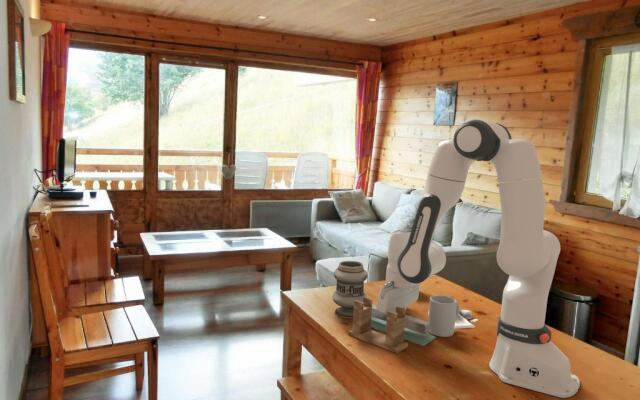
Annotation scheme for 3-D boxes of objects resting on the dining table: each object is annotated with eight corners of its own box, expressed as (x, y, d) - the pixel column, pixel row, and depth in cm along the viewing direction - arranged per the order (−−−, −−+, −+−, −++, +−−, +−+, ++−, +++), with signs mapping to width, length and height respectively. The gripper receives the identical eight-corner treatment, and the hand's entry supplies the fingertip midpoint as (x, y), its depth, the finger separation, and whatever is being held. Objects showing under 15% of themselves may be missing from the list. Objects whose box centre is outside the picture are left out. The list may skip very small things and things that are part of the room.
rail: (429, 331, 152) (430, 322, 152) (424, 334, 150) (425, 325, 149) (370, 312, 166) (371, 303, 166) (365, 314, 164) (366, 305, 163)
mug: (441, 339, 154) (444, 305, 152) (421, 329, 161) (424, 297, 159) (466, 332, 160) (469, 299, 159) (447, 323, 167) (449, 292, 166)
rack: (407, 347, 146) (410, 310, 145) (397, 353, 142) (400, 315, 140) (359, 329, 158) (361, 295, 156) (347, 334, 153) (349, 299, 152)
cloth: (467, 334, 159) (469, 316, 158) (417, 318, 171) (418, 302, 170) (493, 317, 176) (495, 301, 175) (445, 304, 188) (447, 288, 187)
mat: (435, 338, 154) (435, 336, 154) (423, 346, 148) (423, 344, 147) (372, 317, 169) (372, 315, 169) (358, 323, 163) (358, 321, 163)
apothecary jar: (325, 309, 174) (327, 260, 171) (353, 305, 180) (355, 257, 177) (343, 321, 163) (346, 269, 161) (372, 316, 170) (376, 266, 167)
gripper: (390, 288, 146) (387, 332, 148) (424, 275, 161) (420, 315, 163) (373, 283, 150) (370, 326, 152) (407, 270, 166) (404, 310, 167)
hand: (396, 320), depth 158 cm, fingers closed on rail, 3 cm apart
